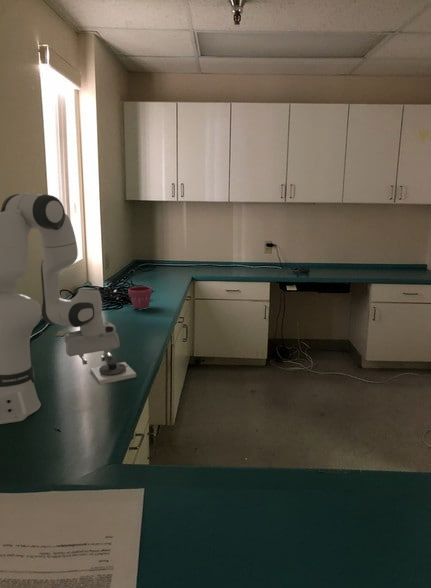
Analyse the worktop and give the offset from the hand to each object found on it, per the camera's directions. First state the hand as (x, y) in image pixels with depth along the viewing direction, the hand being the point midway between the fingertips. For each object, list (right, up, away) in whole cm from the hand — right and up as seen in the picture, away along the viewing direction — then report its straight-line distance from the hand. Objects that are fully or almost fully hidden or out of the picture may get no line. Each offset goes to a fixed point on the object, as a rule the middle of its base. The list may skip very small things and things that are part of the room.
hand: (94, 362), depth 175 cm
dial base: (+8, -5, -1) cm, 9 cm away
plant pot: (+2, +18, +100) cm, 102 cm away
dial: (+7, -3, -1) cm, 8 cm away
